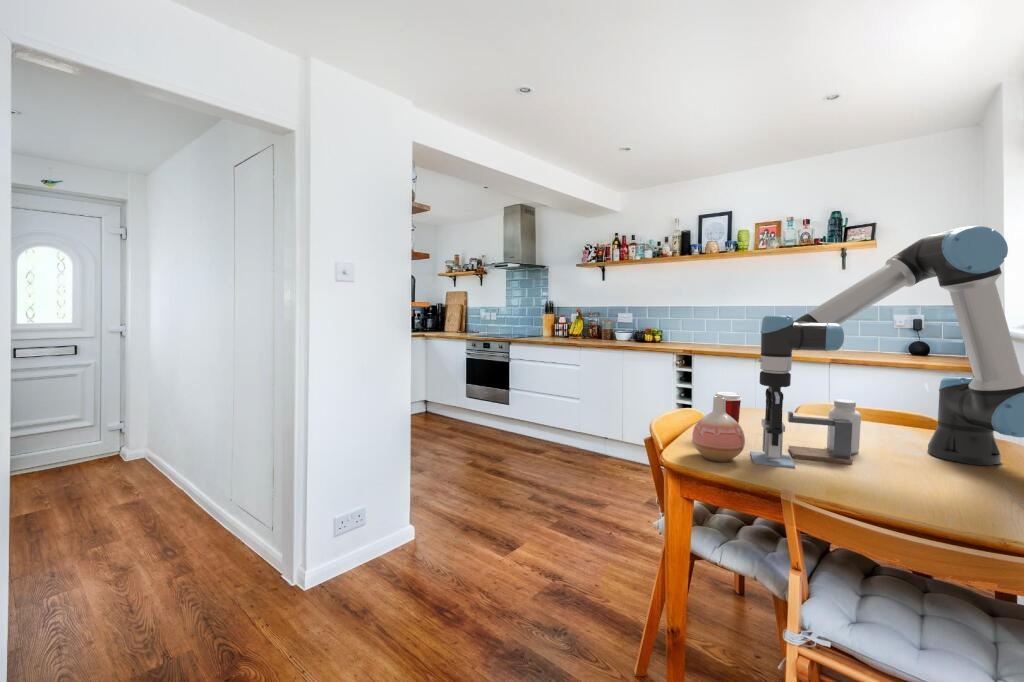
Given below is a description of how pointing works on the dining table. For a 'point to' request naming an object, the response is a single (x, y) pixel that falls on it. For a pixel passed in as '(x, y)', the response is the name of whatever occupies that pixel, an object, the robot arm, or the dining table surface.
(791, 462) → the mat
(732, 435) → the vase
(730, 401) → the coffee cup
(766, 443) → the light grey block
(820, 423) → the hook stand
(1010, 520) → the dining table surface
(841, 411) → the pill bottle
